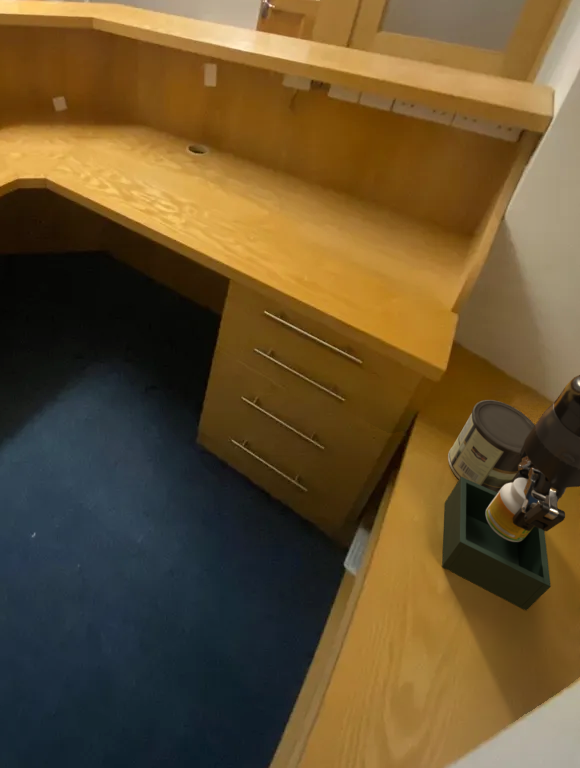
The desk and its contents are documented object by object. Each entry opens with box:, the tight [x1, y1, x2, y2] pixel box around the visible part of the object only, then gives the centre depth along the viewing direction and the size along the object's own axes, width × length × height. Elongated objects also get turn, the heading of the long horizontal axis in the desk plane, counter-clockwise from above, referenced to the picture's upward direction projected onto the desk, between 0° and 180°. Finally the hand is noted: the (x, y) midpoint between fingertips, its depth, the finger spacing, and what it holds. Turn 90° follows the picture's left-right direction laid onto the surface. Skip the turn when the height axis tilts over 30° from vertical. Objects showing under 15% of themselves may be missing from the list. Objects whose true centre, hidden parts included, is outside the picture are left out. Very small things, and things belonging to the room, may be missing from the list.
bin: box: [441, 477, 552, 611], centre depth 83 cm, size 12×12×9 cm
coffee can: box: [447, 399, 536, 493], centre depth 93 cm, size 10×10×14 cm
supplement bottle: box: [486, 478, 546, 542], centre depth 77 cm, size 5×5×10 cm
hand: (519, 506), depth 77 cm, fingers closed on supplement bottle, 5 cm apart
